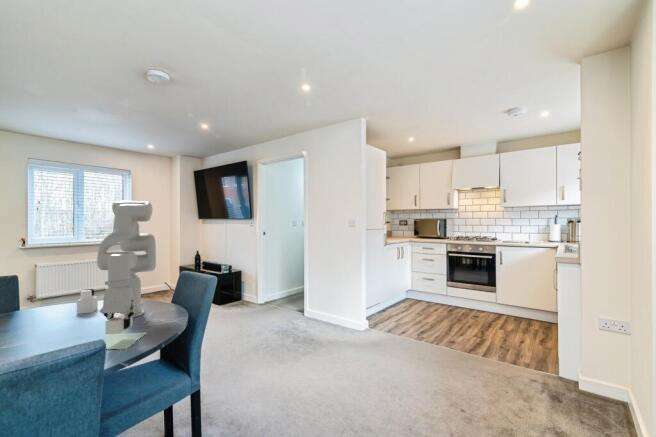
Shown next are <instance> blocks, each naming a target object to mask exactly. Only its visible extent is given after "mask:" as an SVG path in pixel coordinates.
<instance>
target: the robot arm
mask: <svg viewBox="0 0 656 437" xmlns="http://www.w3.org/2000/svg"><path fill="white" fill-rule="evenodd" d="M111 209H112V213H113V215H114V218H113V219H114V220H113V226H112V227H113V229H112V232H110V233H109V234H107V235H106V237H104V239H103V240H102V241H101V242H100V244H99V246H98V250H97V257H96V266H97V268H98V269H99V270H101V271H107V281H105V282H104V285H105V286H107V287H106V288H105V291H104V296H103V302H102V307H101V309H100V310H99V313H101V314H102V315H103V316H104V317H105V318H106V321H108V320H110V319H112V318H113V317H115V316H117V315H119V314H124V316H125V319H124V329H126V330H127V329H129V328H130V317H132V318H135V317H139V316H142V315H144V314H145V309H142V307H143V306H144V303H143V302H142V281H141V279H140V277H139V276H138V275H137V273H147V272H153V271H154V270H155V269H156V266H157V251H156V250H157V249H156V238H155V236H154V234H152V233H141V232H140V224H139V222H144V223H145V222H149V221H150V220H151V217H152V215H153V205H152V202H149V201H146V200H145V201H143V200H141V201H140V200H120V201H114V202H113V203H112V207H111ZM117 244H119V246H120V250H121V251H109V249H110V248H112V247H113V246H114V245H117ZM108 251H109V252H108ZM139 252H143V253H140V254H137V253H139ZM144 252H145V253H144ZM128 327H129V328H128Z"/></svg>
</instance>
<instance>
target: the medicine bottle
mask: <svg viewBox="0 0 656 437" xmlns="http://www.w3.org/2000/svg"><path fill="white" fill-rule="evenodd" d="M98 298H99V297H98V296H95V290H94V289H93V288H87V289H82V290H81V291H80V298H79V299H78V300H77V301H76V314H77V315H79V314H81V315H82V314H89V313H90V314H92V313H94V312H96V310H98V308H99V306H98V305H99V303H98V300H99V299H98Z"/></svg>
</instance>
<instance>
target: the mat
mask: <svg viewBox="0 0 656 437" xmlns="http://www.w3.org/2000/svg"><path fill="white" fill-rule="evenodd" d="M145 334H146V335H147V334H148V332H130V333H129V332H126V333H123V332H121V333H119V334H110V335H109V336H107V337H106V338H105V339H103V340H105V342H106V344H107V350H106V351H111V350H110V349H120V350H128V349H129V348H130V347H132V346H133V345H134V344H135V342H136V341H137V340H138V341H140V340H141V339H142V338H143V336H144V335H145ZM146 335H145V336H146ZM145 336H144V337H145ZM141 337H142V338H141ZM140 338H141V339H140ZM139 339H140V340H139ZM138 341H137V342H138ZM137 342H136V343H137ZM132 344H133V345H132ZM131 345H132V346H131ZM128 347H129V348H128ZM127 348H128V349H127Z"/></svg>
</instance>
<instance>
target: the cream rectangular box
mask: <svg viewBox="0 0 656 437" xmlns="http://www.w3.org/2000/svg"><path fill="white" fill-rule="evenodd" d="M124 319H125V316H124V314H119V315H117V316H116V315H114V317H113V318H112V319H110V320H106V321H105V322H104V323H105V335H112V334H120V333H123V332H124V331H126V330H127V329H129V328H130V327H132V326H133V317H130V327H128V328H127V329H124Z"/></svg>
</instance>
